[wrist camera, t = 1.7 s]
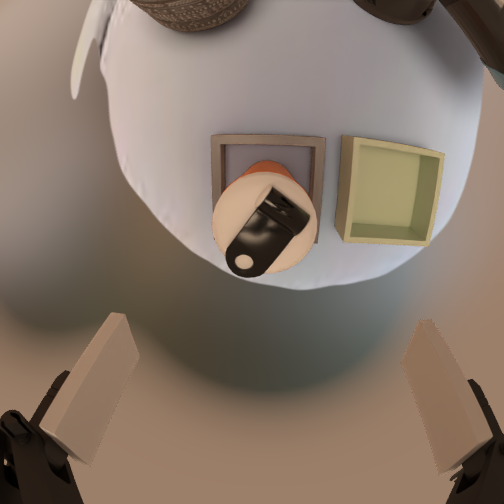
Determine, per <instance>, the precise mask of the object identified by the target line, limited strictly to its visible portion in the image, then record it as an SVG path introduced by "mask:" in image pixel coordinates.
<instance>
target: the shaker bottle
mask: <svg viewBox="0 0 504 504" xmlns="http://www.w3.org/2000/svg"><path fill="white" fill-rule="evenodd" d="M212 229H213V235H214V238H215V241H216V244H217V245H218V247H219V249H220V251H221V252H222V253H223V254H224V255H225V257H226V262H227V265H228V267H229V268H230V270H231V271H232V272H233V273H235V274H236V275H238V276H241V277H245V278H250V277H257V276H260V275H262V274H264V273H275V272H280V271H283V270H286V269H288V268H290V267H292V266H294V265H295V264H297V263H298V262H299V261H301V260H302V259H303V258H304V257H305V256H306V254H307V253H308V252H309V250H310V249H311V247H312V245H313V243H314V241H315V237H316V233H317V218H316V212H315V209H314V207H313V204H312V202H311V199H310V197H309V196H308V194H307V193H306V191H305V190H304V188H303V187H301V186H300V185H299V184H298V183H297V182H296V181H295V180H294V179H293V177H292V176H291V175H290V173H289V172H288V170H287V169H286V168H285V167H284V166H283V165H281V164H279V163H277V162H274V161H261V162H258V163H255V164H254V165H252V166H251V167H250V168H249V169H248V170H247V171H246V172H245V173H244V174H243V175H242V176H241V177H240V178H238V179H236V180H235V181H234V182H232V183H231V184H230V185H229V186H228V187H227V188H226V189H225V190H224V192H223V193H222V195H221V197H220V199H219V200H218V202H217V204H216V206H215V209H214V212H213V218H212Z"/></svg>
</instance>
